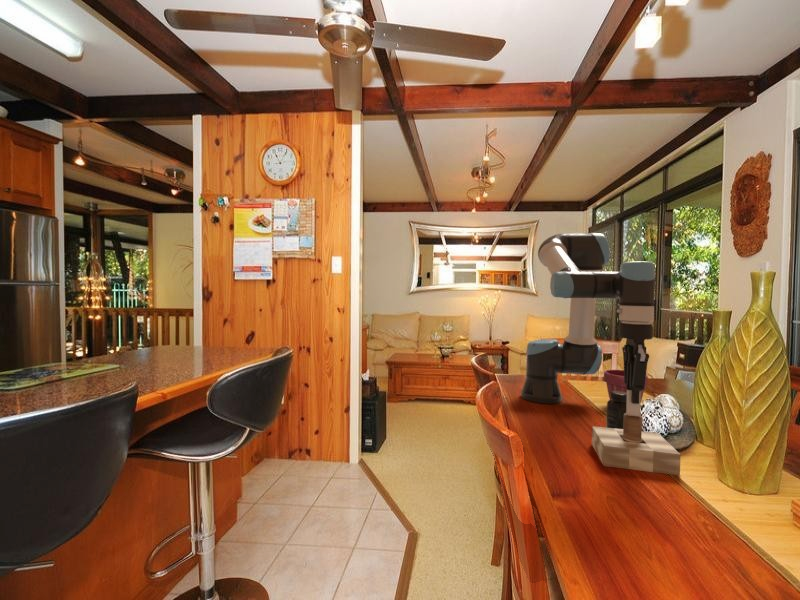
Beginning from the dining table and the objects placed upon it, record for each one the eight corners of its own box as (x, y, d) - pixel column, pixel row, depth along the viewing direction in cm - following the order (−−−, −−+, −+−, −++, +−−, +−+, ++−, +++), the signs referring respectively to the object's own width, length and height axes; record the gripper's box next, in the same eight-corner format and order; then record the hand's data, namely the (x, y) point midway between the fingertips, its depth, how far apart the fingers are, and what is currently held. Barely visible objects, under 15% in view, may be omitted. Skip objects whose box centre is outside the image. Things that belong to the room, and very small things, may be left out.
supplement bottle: (635, 436, 112) (637, 396, 112) (610, 434, 113) (611, 394, 113) (626, 428, 119) (627, 390, 118) (603, 426, 120) (604, 389, 120)
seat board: (591, 443, 106) (592, 426, 106) (657, 451, 102) (657, 432, 102) (603, 465, 93) (604, 445, 93) (679, 475, 88) (680, 454, 88)
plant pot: (602, 399, 151) (603, 367, 151) (644, 404, 145) (645, 371, 144) (603, 409, 138) (604, 374, 138) (649, 415, 132) (650, 378, 132)
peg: (620, 453, 100) (621, 412, 100) (638, 455, 99) (639, 414, 99) (624, 460, 96) (625, 417, 96) (643, 462, 95) (644, 419, 95)
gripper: (612, 320, 104) (610, 406, 104) (626, 324, 91) (623, 421, 92) (643, 321, 102) (641, 409, 102) (662, 325, 89) (659, 425, 90)
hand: (633, 414), depth 97 cm, fingers closed
